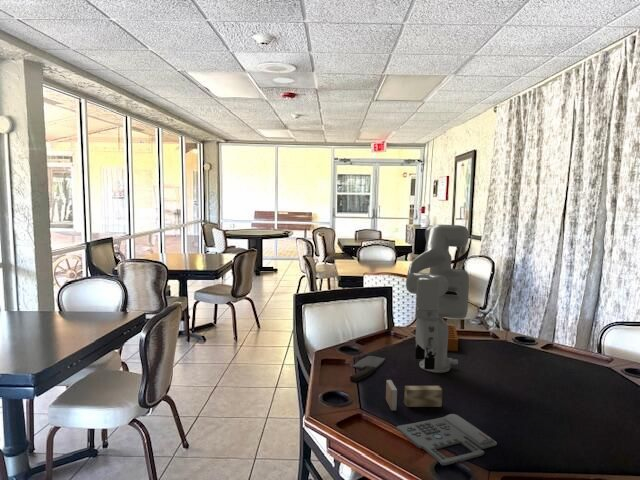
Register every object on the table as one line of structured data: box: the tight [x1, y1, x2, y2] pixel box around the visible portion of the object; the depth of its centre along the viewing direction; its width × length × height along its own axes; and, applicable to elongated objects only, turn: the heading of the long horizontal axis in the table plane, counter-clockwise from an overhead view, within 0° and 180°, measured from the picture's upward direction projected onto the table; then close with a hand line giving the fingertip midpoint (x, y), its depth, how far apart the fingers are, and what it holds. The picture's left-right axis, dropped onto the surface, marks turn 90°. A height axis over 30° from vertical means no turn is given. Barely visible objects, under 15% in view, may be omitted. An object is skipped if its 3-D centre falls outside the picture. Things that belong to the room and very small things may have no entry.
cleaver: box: [349, 355, 386, 383], centre depth 173 cm, size 30×10×2 cm, turn 153°
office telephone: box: [396, 413, 498, 466], centre depth 121 cm, size 23×3×20 cm
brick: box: [447, 324, 459, 352], centre depth 211 cm, size 25×12×6 cm, turn 166°
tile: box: [385, 379, 398, 411], centre depth 141 cm, size 2×8×7 cm, turn 4°
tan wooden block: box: [403, 385, 443, 408], centre depth 142 cm, size 12×3×6 cm, turn 94°
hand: (424, 363), depth 140 cm, fingers open, 9 cm apart
